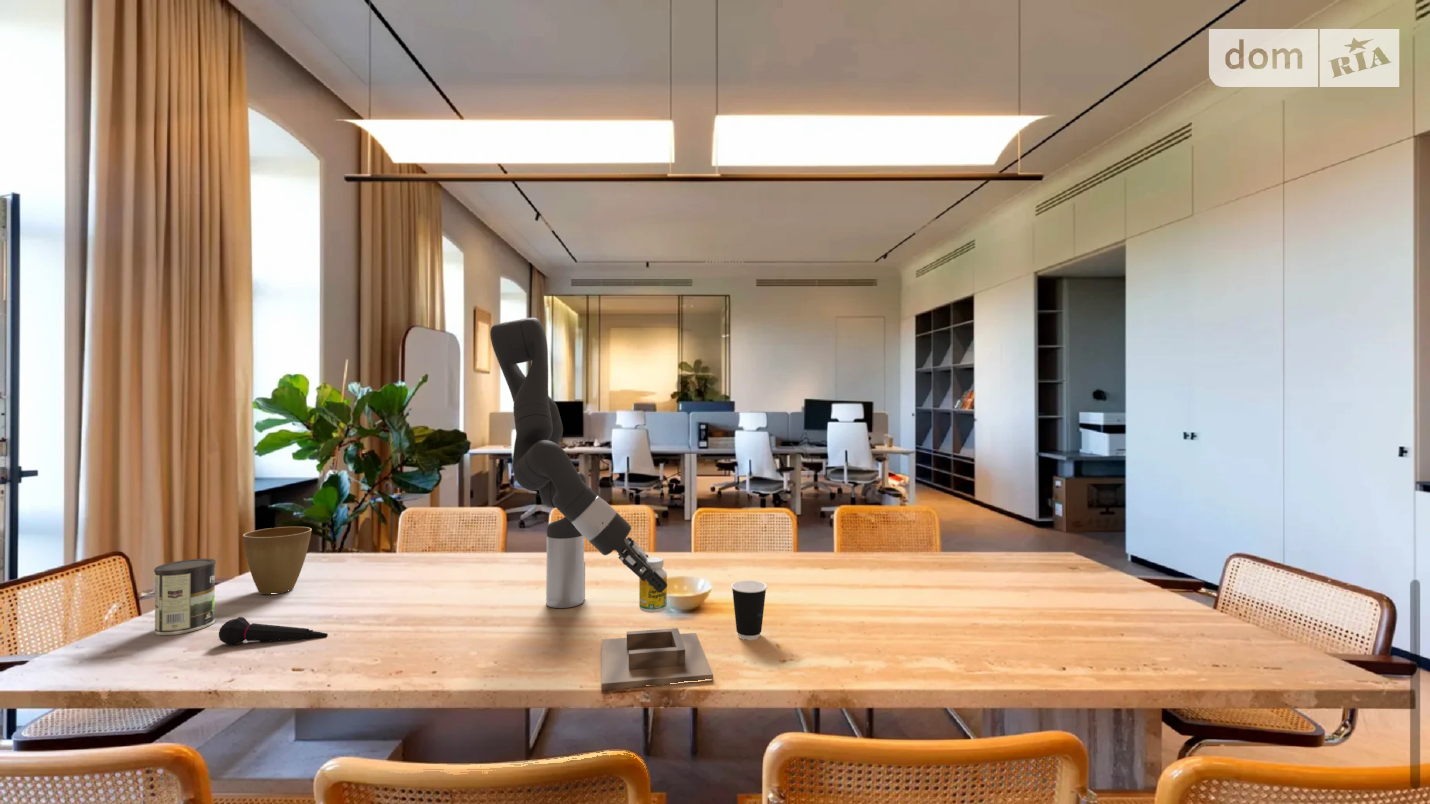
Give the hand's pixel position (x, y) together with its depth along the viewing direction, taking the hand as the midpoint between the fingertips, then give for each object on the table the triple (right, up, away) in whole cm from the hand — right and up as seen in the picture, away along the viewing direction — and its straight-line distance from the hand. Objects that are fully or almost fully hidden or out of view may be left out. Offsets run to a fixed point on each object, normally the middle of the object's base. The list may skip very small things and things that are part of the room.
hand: (662, 583), depth 116 cm
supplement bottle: (-2, -5, 0) cm, 5 cm away
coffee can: (-109, -15, +17) cm, 111 cm away
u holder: (-2, -15, 0) cm, 15 cm away
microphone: (-83, -15, +9) cm, 85 cm away
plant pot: (-107, -15, +43) cm, 117 cm away
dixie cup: (+18, -16, +13) cm, 27 cm away
